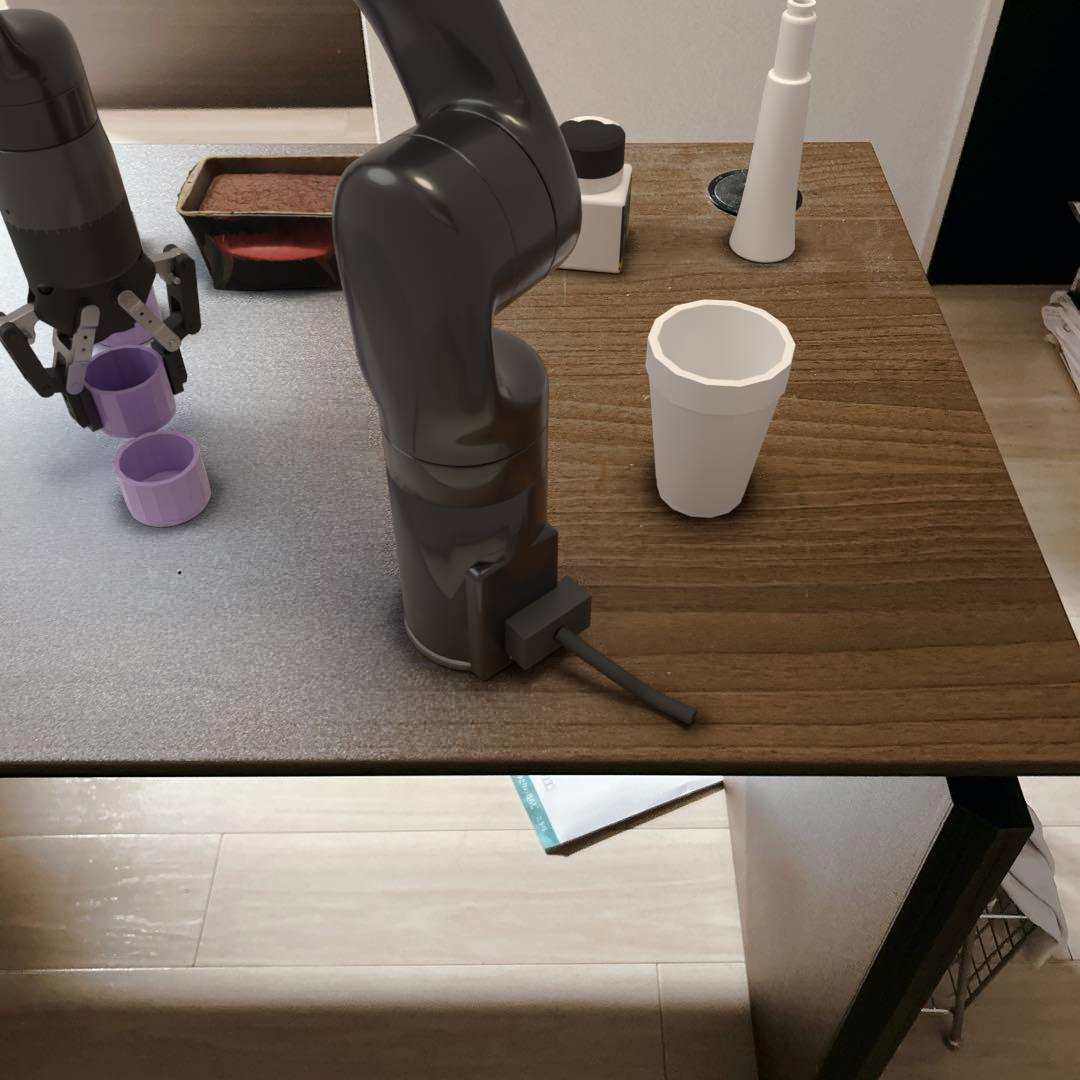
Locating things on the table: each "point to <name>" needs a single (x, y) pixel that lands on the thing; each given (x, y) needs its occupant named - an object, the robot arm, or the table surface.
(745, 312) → the foam cup
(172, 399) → the dish
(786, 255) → the cosmetic bottle
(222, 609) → the table surface
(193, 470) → the dish
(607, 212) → the medicine bottle
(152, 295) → the dish
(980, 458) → the table surface
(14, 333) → the robot arm
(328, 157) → the baking dish
